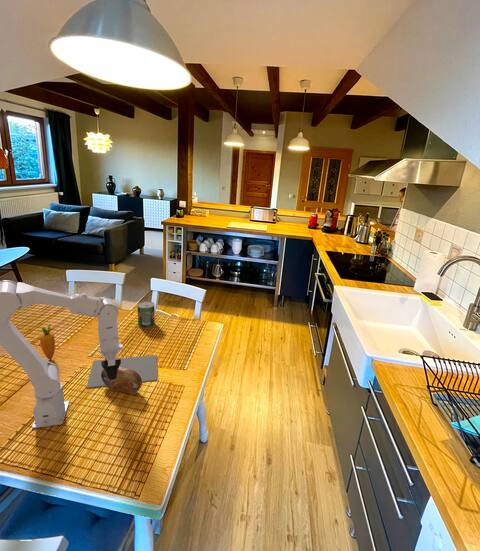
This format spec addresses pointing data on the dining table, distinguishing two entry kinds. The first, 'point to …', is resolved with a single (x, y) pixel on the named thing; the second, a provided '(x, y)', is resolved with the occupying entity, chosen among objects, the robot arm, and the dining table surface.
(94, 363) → the mat
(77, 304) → the robot arm
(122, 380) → the tin
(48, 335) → the carrot
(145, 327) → the canned tomato
